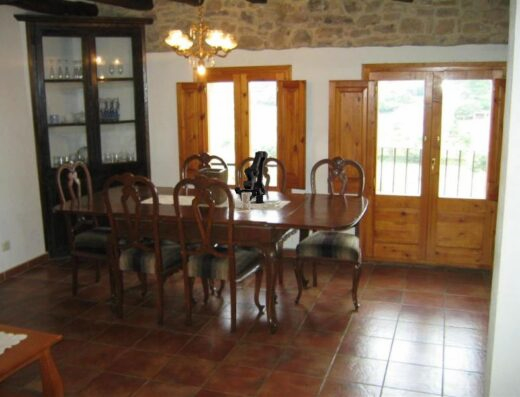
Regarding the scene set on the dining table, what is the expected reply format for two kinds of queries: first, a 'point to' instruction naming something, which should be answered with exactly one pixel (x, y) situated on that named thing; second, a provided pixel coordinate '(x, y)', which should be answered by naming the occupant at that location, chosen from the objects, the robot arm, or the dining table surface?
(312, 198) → the dining table surface
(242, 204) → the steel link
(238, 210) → the birch stand
